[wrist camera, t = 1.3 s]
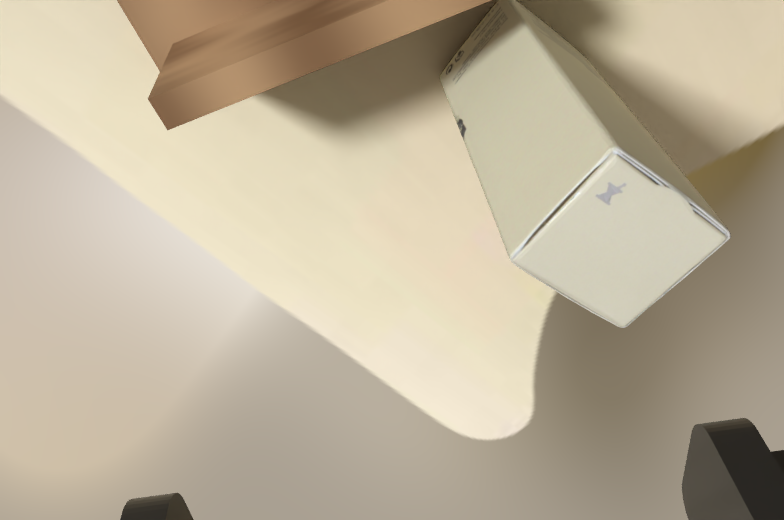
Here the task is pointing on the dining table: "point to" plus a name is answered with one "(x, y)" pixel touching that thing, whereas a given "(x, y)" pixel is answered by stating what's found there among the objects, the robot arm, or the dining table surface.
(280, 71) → the rack
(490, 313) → the dining table surface
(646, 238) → the box
